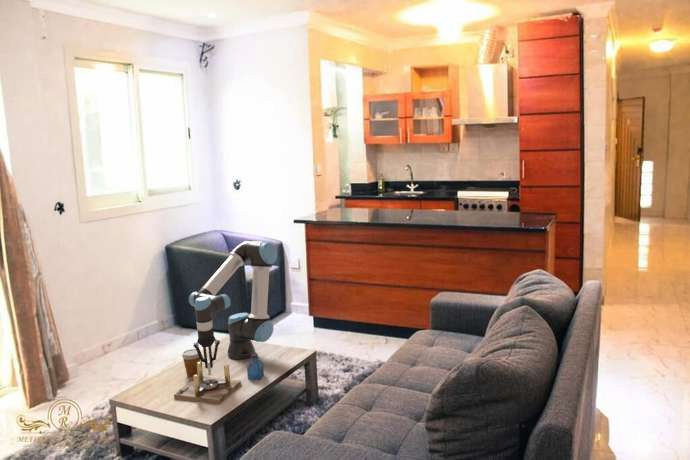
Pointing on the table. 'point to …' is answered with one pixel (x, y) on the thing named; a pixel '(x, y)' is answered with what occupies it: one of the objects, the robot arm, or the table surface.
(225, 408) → the table surface
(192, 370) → the disposable coffee cup
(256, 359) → the perfume bottle
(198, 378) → the capstan
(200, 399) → the stand
